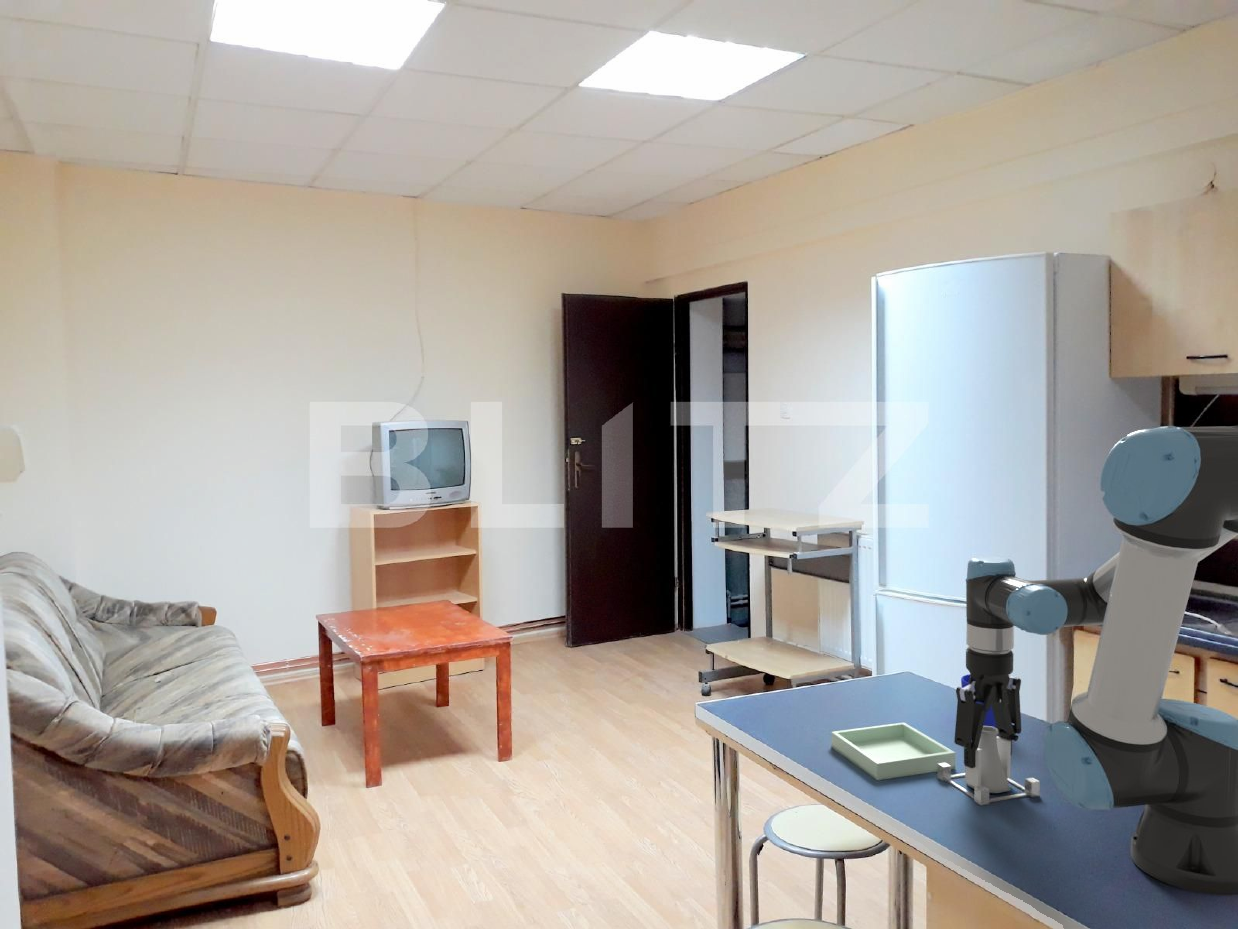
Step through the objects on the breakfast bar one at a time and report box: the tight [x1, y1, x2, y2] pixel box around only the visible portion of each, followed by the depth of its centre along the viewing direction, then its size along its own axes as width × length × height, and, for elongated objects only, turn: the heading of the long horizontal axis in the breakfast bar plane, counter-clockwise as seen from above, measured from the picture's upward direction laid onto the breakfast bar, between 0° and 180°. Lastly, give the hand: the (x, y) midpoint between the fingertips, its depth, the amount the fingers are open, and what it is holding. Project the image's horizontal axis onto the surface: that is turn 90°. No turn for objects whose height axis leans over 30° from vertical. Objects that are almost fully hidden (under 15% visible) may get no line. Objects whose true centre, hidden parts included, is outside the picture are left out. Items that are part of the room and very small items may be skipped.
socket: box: [937, 763, 1041, 806], centre depth 157 cm, size 12×12×2 cm
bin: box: [830, 722, 956, 781], centre depth 170 cm, size 16×16×3 cm
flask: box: [966, 726, 1011, 794], centre depth 157 cm, size 7×7×10 cm
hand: (987, 779), depth 157 cm, fingers closed on flask, 7 cm apart
